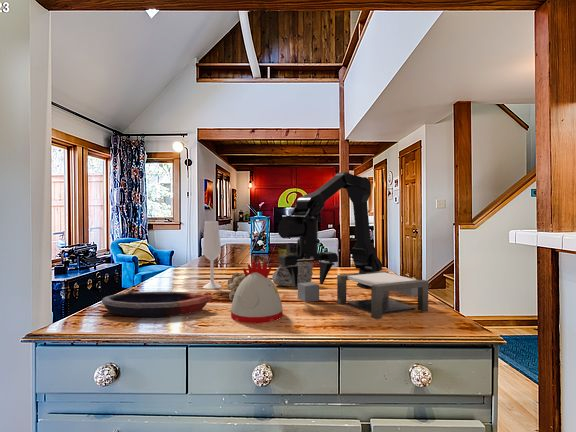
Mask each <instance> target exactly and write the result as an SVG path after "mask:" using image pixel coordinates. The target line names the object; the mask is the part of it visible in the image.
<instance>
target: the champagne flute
mask: <svg viewBox="0 0 576 432" xmlns="http://www.w3.org/2000/svg"><path fill="white" fill-rule="evenodd" d="M219 227H220V226H219V221H217V220H216V221H215V220H206V221H204V230H203V241H202V250H201V251H202V254H203V256H204V257H205V258H206V259H207V260H208V261H209V263H210V264H209V265H210V267H209V268H210V273H209V275H210V280H209V282H208V283H206V284H204V286H202V288H203V289H206V290H207V289H209V290H211V289H212V290H213V289H214V290H215V289H220V288H222V285H220V284H219V283H217V282H215V281H214V280H215V279H214V278H215V276H214V274H215V273H214V272H215V271H214V268H215V267H214V263H215V260H217V258H219V256H220V255H221V252H222V245H221V235H220V228H219Z"/></svg>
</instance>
